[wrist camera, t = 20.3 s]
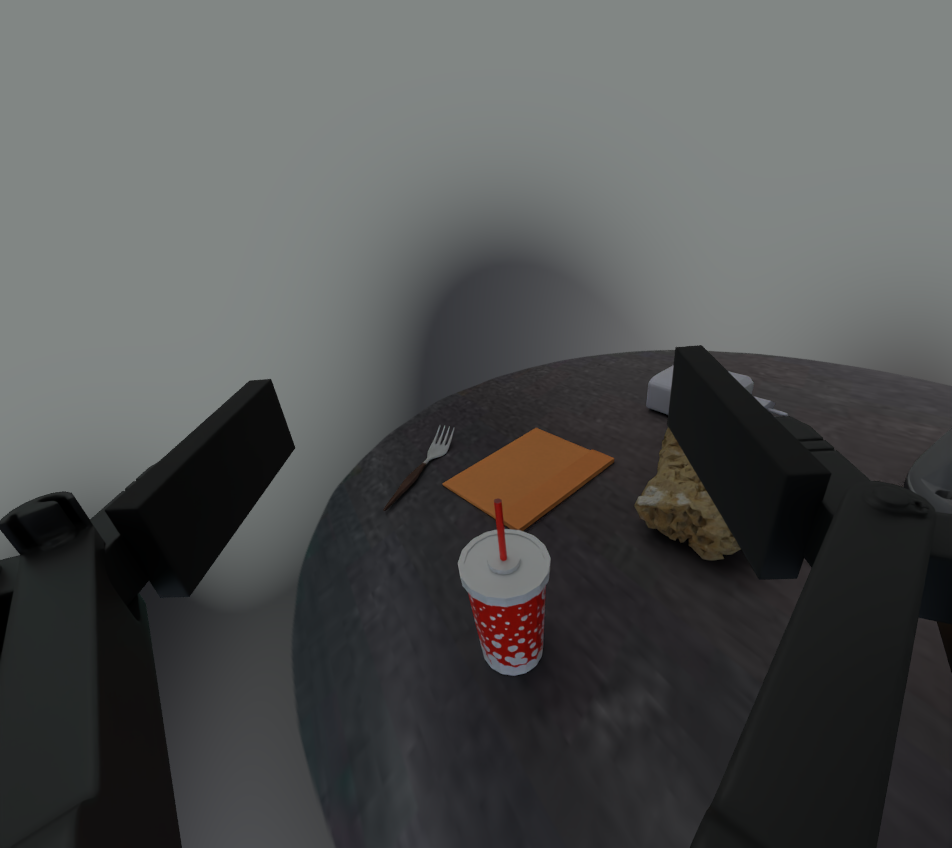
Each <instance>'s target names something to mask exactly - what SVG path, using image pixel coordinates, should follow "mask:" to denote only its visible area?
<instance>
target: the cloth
mask: <svg viewBox="0 0 952 848" xmlns="http://www.w3.org/2000/svg"><path fill="white" fill-rule="evenodd" d="M612 463H614V458H612V457H610V456H608V455H605V454H603V453H600V452H598V451H596V450H593V449H592V450H591V451H590V450H588V449H586V448H583V447H581V446H578V445H576V444H574V443H571V442H569V441H566V440H564V439H562V438H559V437H557V436H555V435H552V434H550V433H547V432H545V431H543V430H540V429H538V428H535V429H533V430H532V431H530V432H528V433H527V434H525V435H523V436H522V437H520V438H518V439H517V440H515V441H513V442H512V443H510V444H508V445H507V446H505V447H503V448H502V449H500V450H498V451H496V452H495V453H493V454H491V455H490V456H488V457H486V458H485V459H483V460H481V461H480V462H478V463H476V464H475V465H473V466H471V467H470V468H468V469H466V470H464V471H463V472H461V473H459V474H458V475H456V476H454V477H453V478H451V479H449V480H448V481H446V482H444V483H443V486H445V487H446V488H448V489H449V490H451V491H452V492H454V493H456V494H457V495H459V496H460V497H462V498H463V499H465V500H466V501H468V502H470V503H471V504H473V505H474V506H476V507H477V508H479V509H480V510H482V511H483V512H485V513H487V514H488V515H490V516H491V517H493V518H494V519H496V516H495V507H494V500H495V499H497V498H498V499H501V500H502V510H503V520H504V525H505V526H507V527H508V528H510V529H512V530H520V531H524V530H525V529H526V528H528V527H529V526H530V525H532V524H533V523H534V522H536V521H537V520H538V519H539V518H541V517H542V516H543V515H545V514H546V513H547V512H549V511H550V510H551V509H553V508H554V507H555V506H557V505H558V504H559V503H561V502H562V501H563V500H565V499H566V498H567V497H569V496H570V495H571V494H573V493H574V492H575V491H577V490H578V489H579V488H581V487H582V486H583V485H585V484H586V483H587V482H588V481H590V480H591V479H592V478H594V477H595V476H596V475H598V474H599V473H600V472H602V471H603V470H604V469H606V468H607V467H608V466H610V465H611V464H612Z"/></svg>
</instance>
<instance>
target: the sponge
mask: <svg viewBox="0 0 952 848" xmlns="http://www.w3.org/2000/svg"><path fill="white" fill-rule="evenodd" d="M659 456H660V459H659V462H658V469H657V471H658V473H657V475H656V476H655V477H654V478H653V479H651V480H650V481H649V482H648V484H647V485H646V487H645V489H644V491H643V493H642V495H641V496H639V497H638V499H637V501H636V503H635V505H634V506H635V508H636V510H637V512H638V514H639V516H640V518H641V519H642V520H644V521H645V522H646V524H647V526H648V528H652V529H656V528H657V529H658V530H659V531H660V532H661V533H662V534H664V535H666V536H668V537H669V539H672V540H675V541H676V539H679V541H680V543H682V542H685V541H686V540H687V538H688V539H689V544H688V545H689V546H690V547H692V548H693V550H694V551H695V552H696V553H697V554H698V555H699V556H700V557H701V558H702V559H704V560H711V561H713V560H720V559H724V558H723V556H722V555H723V554H725V555H732V554H734V553H735V552H737V551H738V550H741V548H740V546H739V545H738V543H737V541H736V540H735V538H734V536H733V535H732V533H731V531H730V530H729V528H728V526H727V525H726V523H725V521H724V519H723V518H722V516H721V514H720V513H719V511H718V509H717V508H716V506H715V504H714V503H713V501H712V499H711V498H710V496H709V494H708V493H707V491H706V489H705V487H704V486H703V484H702V482H701V481H700V479H699V477H698V476H697V474H696V472H695V471H694V469H693V467H692V466H691V464H690V462H689V461H688V459H687V457H686V456H685V454H684V452H683V450H682V449H681V447H680V445H679V444H678V442H677V440H676V439H675V437H674V435H673V434H672V432H671V430H670V429H669V427H668V429H667V431H666V433H665V436H664V440H662V450H660V452H659Z"/></svg>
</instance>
